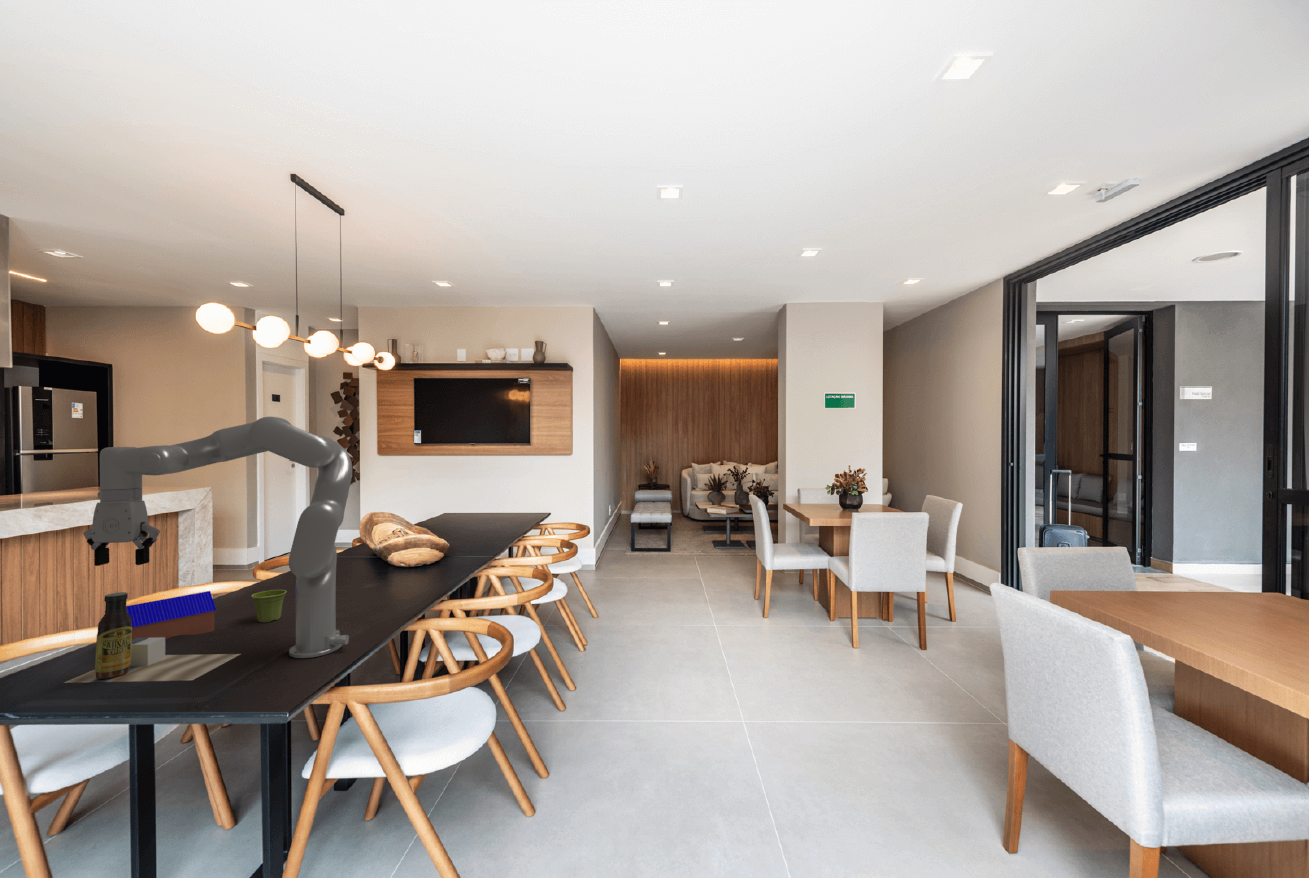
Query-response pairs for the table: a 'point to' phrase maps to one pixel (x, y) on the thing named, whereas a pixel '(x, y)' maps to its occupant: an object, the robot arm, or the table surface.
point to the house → (173, 616)
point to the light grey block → (147, 651)
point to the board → (165, 669)
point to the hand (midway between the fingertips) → (122, 564)
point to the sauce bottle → (114, 638)
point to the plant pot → (269, 604)
